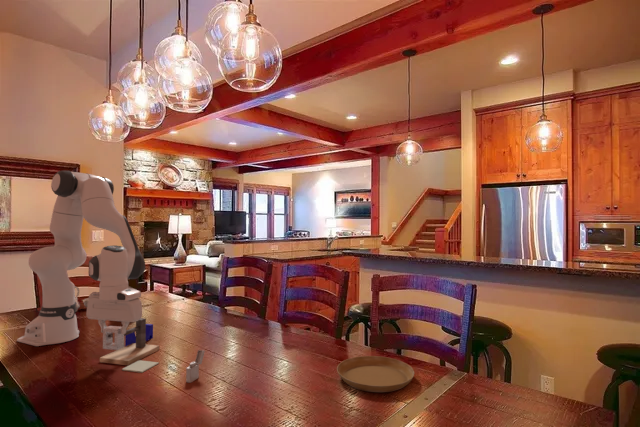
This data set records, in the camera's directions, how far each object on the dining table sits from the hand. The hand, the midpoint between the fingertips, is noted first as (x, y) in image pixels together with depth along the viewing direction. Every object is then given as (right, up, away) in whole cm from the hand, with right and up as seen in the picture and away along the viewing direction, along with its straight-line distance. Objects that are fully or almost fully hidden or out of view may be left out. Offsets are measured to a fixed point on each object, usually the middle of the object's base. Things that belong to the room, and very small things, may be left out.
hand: (113, 332), depth 129 cm
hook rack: (+2, -11, +8) cm, 14 cm away
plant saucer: (+89, -11, -11) cm, 90 cm away
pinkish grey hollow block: (0, -5, 0) cm, 5 cm away
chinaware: (-62, -12, +72) cm, 96 cm away
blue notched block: (-3, -12, +23) cm, 26 cm away
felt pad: (+11, -11, -3) cm, 15 cm away
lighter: (+32, -11, -11) cm, 36 cm away
